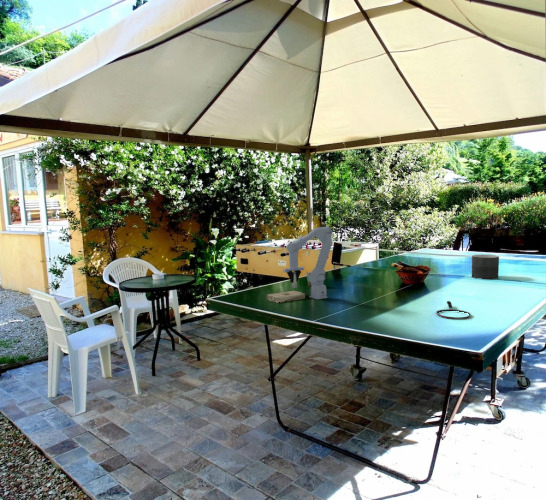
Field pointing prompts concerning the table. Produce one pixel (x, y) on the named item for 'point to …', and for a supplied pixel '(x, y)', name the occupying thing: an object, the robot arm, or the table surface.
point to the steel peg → (294, 281)
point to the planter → (485, 266)
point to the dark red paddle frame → (451, 310)
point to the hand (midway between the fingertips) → (294, 282)
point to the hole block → (285, 296)
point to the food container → (308, 279)
